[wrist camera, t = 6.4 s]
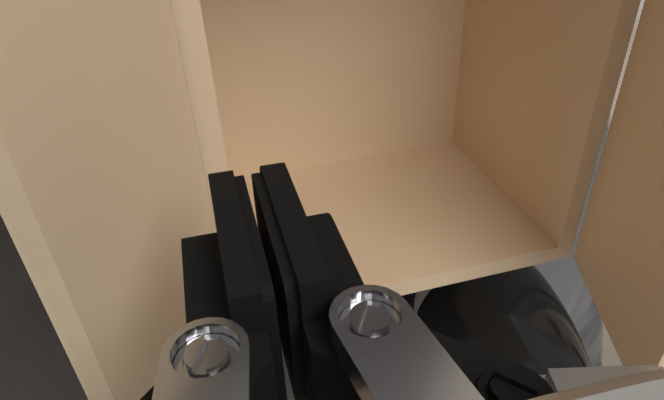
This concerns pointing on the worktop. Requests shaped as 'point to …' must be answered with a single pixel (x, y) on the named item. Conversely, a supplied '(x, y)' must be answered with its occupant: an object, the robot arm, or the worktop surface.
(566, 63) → the carton
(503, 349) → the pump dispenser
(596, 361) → the worktop surface
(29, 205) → the left flap
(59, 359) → the worktop surface
